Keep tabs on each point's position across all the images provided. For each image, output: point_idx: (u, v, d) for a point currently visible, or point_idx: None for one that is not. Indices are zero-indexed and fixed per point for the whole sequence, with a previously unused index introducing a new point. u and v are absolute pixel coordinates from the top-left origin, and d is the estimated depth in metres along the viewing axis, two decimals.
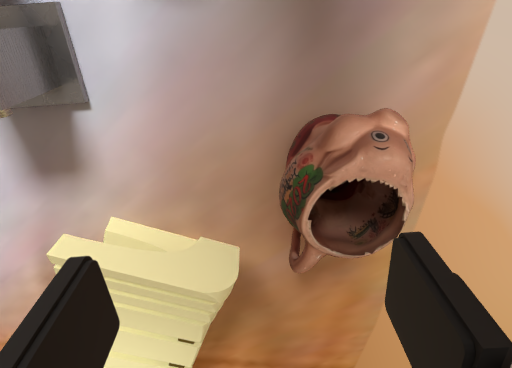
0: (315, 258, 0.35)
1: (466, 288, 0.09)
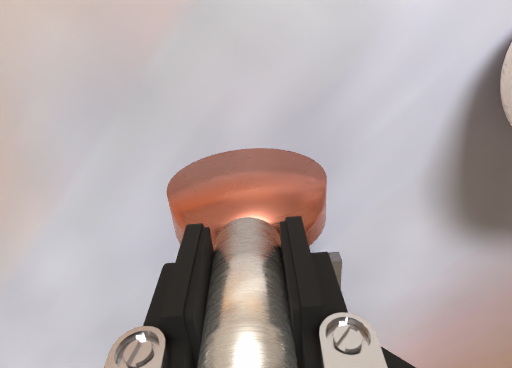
0: None
1: (331, 264, 0.10)
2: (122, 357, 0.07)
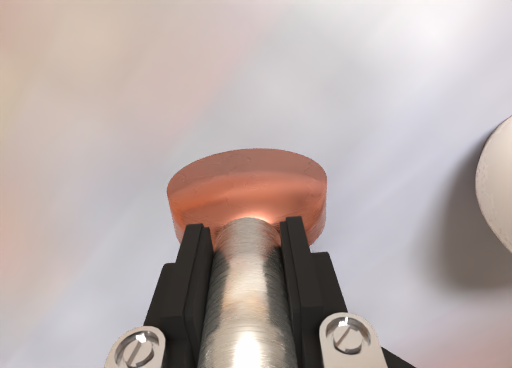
0: None
1: (331, 264, 0.10)
2: (122, 357, 0.07)
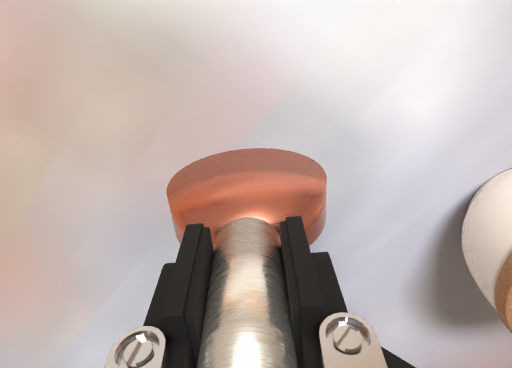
0: None
1: (331, 264, 0.10)
2: (122, 357, 0.07)
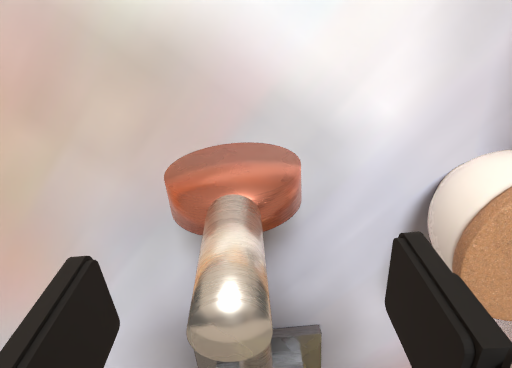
0: None
1: (466, 288, 0.09)
2: None
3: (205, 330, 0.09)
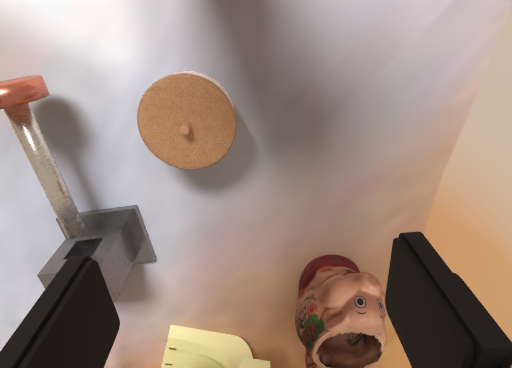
0: None
1: (466, 288, 0.09)
2: None
3: None
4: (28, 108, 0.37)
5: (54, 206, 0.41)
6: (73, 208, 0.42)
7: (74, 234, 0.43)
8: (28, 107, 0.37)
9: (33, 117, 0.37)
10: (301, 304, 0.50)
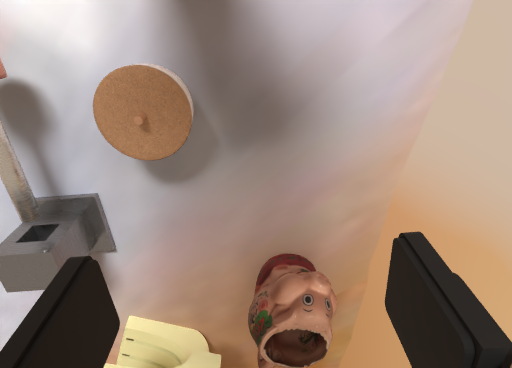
0: (272, 364, 0.51)
1: (466, 288, 0.09)
2: None
3: None
4: None
5: (8, 188, 0.41)
6: (28, 192, 0.43)
7: (27, 218, 0.43)
8: None
9: None
10: (254, 300, 0.51)
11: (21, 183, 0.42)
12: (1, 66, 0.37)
